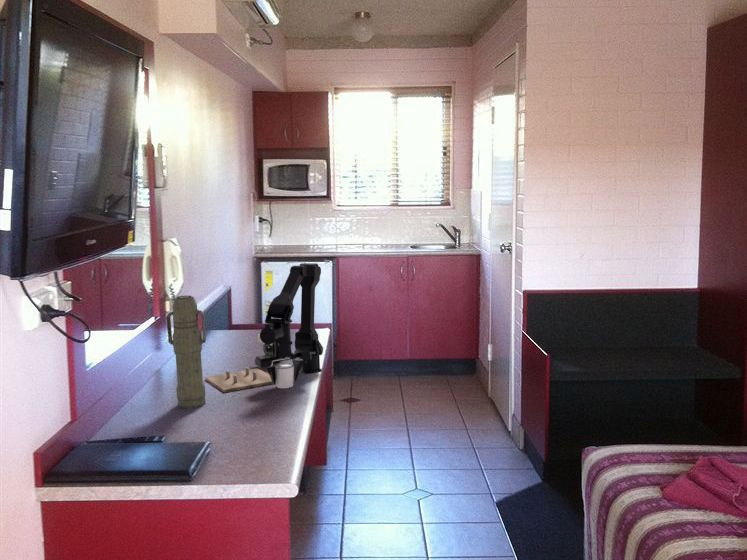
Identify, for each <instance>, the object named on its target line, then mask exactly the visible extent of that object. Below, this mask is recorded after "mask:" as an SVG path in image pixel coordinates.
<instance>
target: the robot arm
mask: <svg viewBox="0 0 747 560" xmlns="http://www.w3.org/2000/svg"><path fill="white" fill-rule="evenodd" d="M321 274H322V268H321V267H320V266H319V264H318V263H314V262H313V263H306V262H305V263H304V262H303V263H301V262H300V264H299V265H291V267H290V269H289V275H288V276H287V279H286V280H285V283H284V284H283V287H282V289H281V291H280V292H279V294H278V295H277V296H275V297H274V298H273V299H272V301H271V302H270V304H269V305H268V309H267V311H266V312H267V313H266V316H265V319H264V327H263V328H262V329H261V330H260V333H259V334H260V340H261V341H262V342H261V343H262V351H263V353H264V355H258V356H255V358H254V365H255V366H257V367H259V368H261V369H262V368H264V369H265V370H266V371H267V374H269V375H270V377H271V380H272V382H273V384H272V385H274V386H275V385H276V374H275V366H276V365H274V364H273V363H277V362H284V361H289V360H291V362H292V365H294V376H293V382H294V381H295V382H296V381H297V379H298V377H299V374H300V372H303V373H305V374H312V373H316V372H317V373H318V372H321V371H323V368H321V362H320V361H321V360H320V356H322V355H323V353H324V346H323V345H322V343H321V342H320V340H319V333H318V331H316V328H315V305H316V304H315V303H316V302H315V301H316V300H315V299H316V298H315V297H316V287H317V286H318V284H319V282H320V280H321ZM299 287H301V295H300V297H301V299H300V301H301V303H300V309H301V310H300V328H299V330H297V331H296V332H295V333H294V336H295V337H294V349H295V350H294V352H292V345H293V341H292V337H291V336H292V335H291V324H292V322H293V320H292V316H293V313H294V309H295V306H294V299H295V297H296V295H297V292H298V290H299ZM263 343H265V344H263ZM270 344H272V345H270ZM265 353H269V356H271V355H273V356H274V355H275V357H269V356H267V355H265ZM278 358H281V359H278Z"/></svg>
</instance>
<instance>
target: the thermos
mask: <svg viewBox="0 0 747 560" xmlns="http://www.w3.org/2000/svg"><path fill="white" fill-rule="evenodd" d="M171 307H172V311H169V312H168V314H166V317H165V319H166V329H167V336H168V337H167V339H168V340H167V342H168V343H169V344H170V345H172V347H173V352H174V355H175V363H176V377H177V380H176V381H177V385H176V389H175V391H176V398H177V406H178V407H179V408H180V409H181V408H182V409H193V408H198V407H199V406H200V407H203V406H204V405H206V403H205V402H206V394H207V393H206V385H205V382H204V380H203V365H202V350H203V344H204V343H205V344H206V341H207V333H206V320H205V317H206V316H205V313H204V311H202V310H200V309H198V305H197V301H196V298H195V297H194V296H192V295H180V296H176V297H174V299H173V303H172V306H171ZM199 315H201V327H202V329H201V330H202V331H201V330H200V326H199V324H198V323H199V321H198V320H199ZM171 316H172V318H173V319H172V321H173V324H174V326H173V333H172V321H171ZM200 407H199V408H200Z"/></svg>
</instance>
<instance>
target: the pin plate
mask: <svg viewBox="0 0 747 560" xmlns="http://www.w3.org/2000/svg"><path fill="white" fill-rule="evenodd" d="M244 369H245V370H244ZM244 369H243V370H240V371H239V370H238V371H233V372H230V370H226V371H225V372H226V373H223V374H222V373H221V374H216V375H209V376H205V377H204V378H205V379H204V380H205V381H206V382H208V383H209V384H211V385H212V386H213V387H215V388H216V387H217V389H218V390H219V389H220V390H219V391H221V392H222V391H223V392H222V393H224V392H225V393H230V392H229V391H231V392H235V391H234V390H236V391H240V389H242V390H246V389H245V388H247V389H251V388H250V387H253V388H257V386H258V387H262V385H264V386H270V385H274V384H273V382H272V380H271V377H270V375H269V373H268V372H265V371H263V370H261V369H259V368H258V367H257V368H252V369H250V368H249V367H245V368H244Z"/></svg>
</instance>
